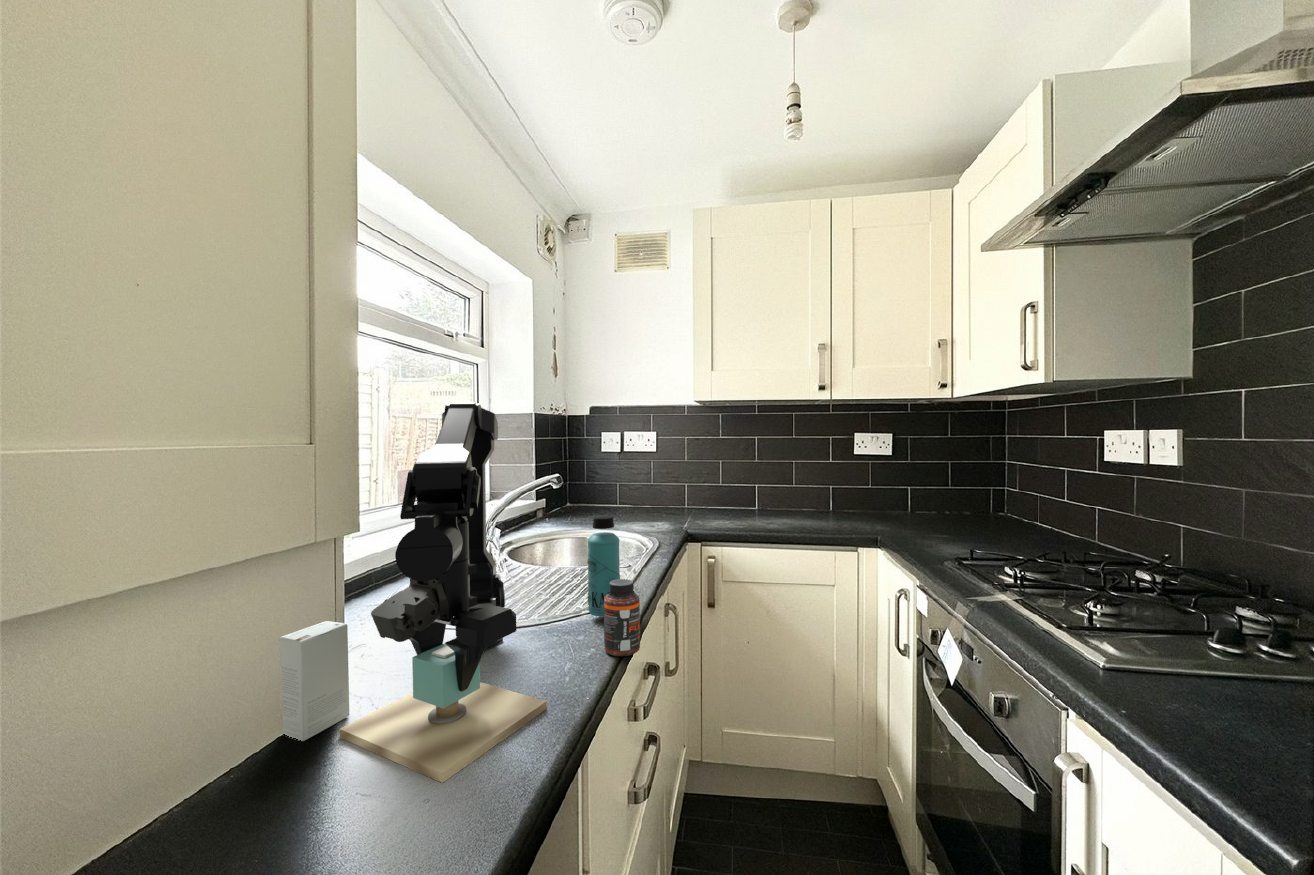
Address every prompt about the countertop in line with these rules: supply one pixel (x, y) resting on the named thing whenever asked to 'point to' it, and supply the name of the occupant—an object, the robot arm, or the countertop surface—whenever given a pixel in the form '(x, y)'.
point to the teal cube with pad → (439, 677)
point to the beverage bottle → (601, 564)
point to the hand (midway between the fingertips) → (447, 685)
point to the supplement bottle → (621, 619)
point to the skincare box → (314, 678)
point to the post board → (443, 729)
